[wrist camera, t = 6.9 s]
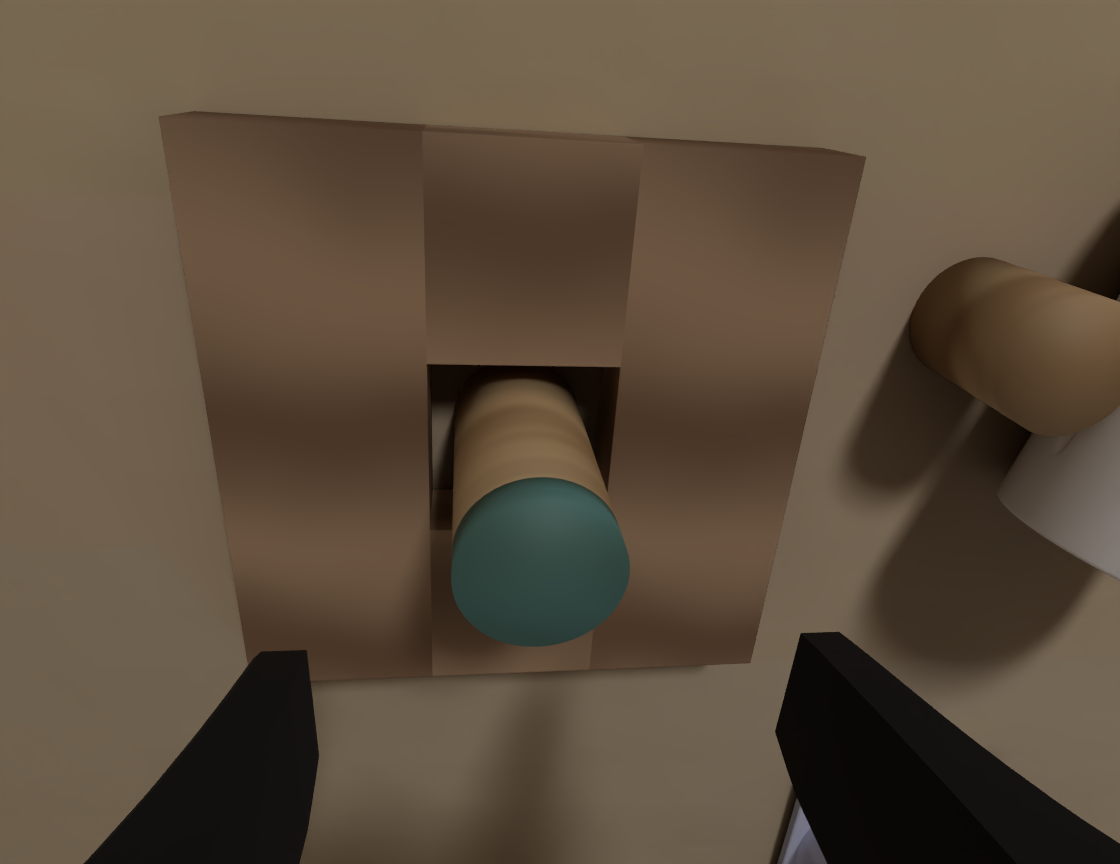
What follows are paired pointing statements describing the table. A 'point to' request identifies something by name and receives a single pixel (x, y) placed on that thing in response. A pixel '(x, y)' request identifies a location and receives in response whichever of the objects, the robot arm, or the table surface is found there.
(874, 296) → the table surface
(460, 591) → the long dowel
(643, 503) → the wooden board with hole
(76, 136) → the table surface
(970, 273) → the short dowel
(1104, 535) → the white cup
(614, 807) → the table surface
